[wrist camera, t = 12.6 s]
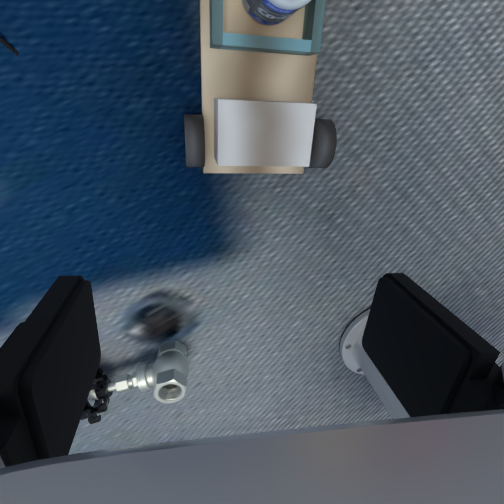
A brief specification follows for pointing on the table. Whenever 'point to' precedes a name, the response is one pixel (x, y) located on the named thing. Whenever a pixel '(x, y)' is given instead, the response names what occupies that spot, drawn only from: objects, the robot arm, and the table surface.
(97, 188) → the table surface
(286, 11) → the pill bottle
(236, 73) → the toy car chassis
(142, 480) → the robot arm
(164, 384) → the valve
